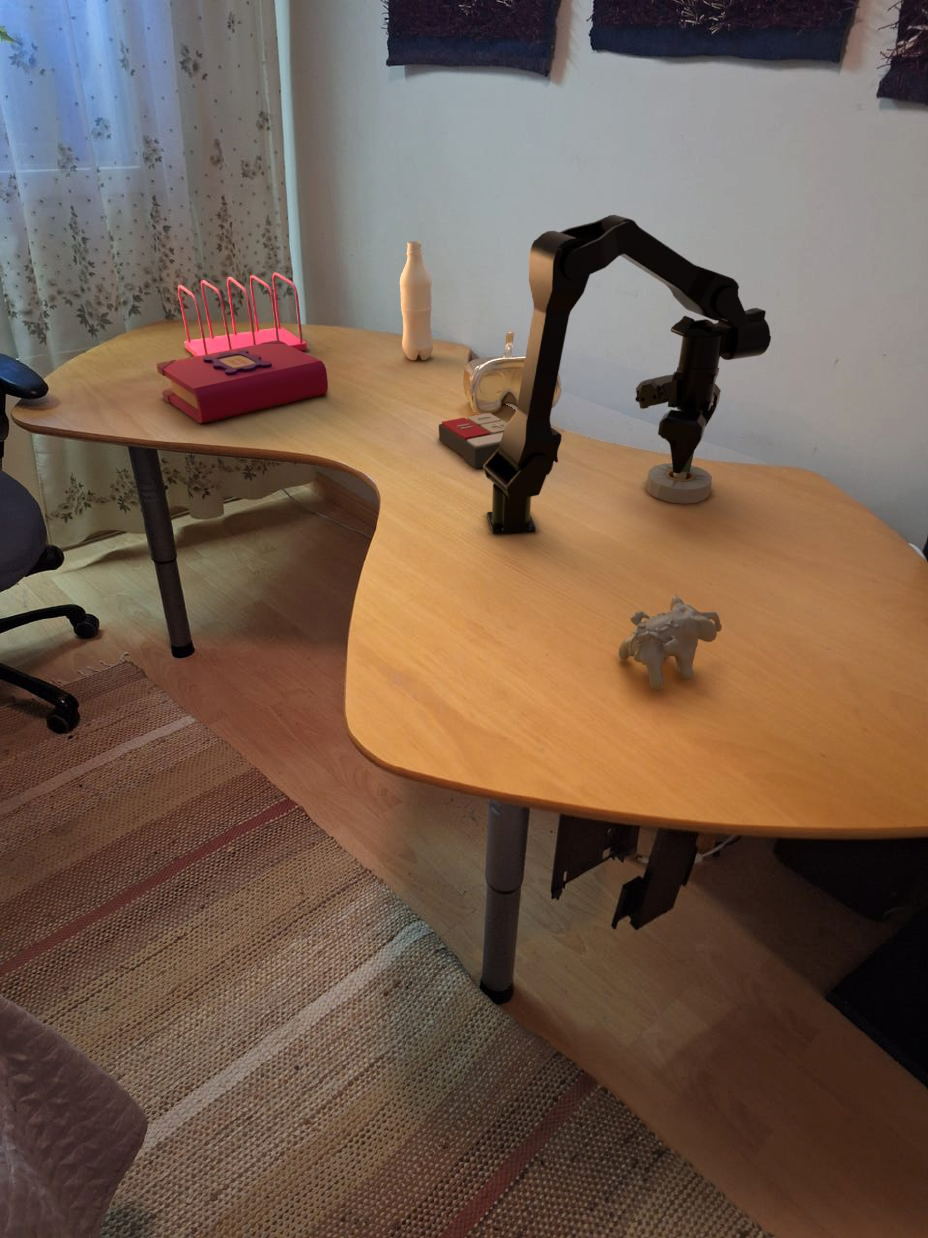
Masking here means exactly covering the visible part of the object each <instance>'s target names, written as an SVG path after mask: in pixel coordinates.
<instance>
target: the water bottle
mask: <svg viewBox="0 0 928 1238" xmlns="http://www.w3.org/2000/svg"><path fill="white" fill-rule="evenodd" d="M406 244H407V250H406V255H407V260H406V263H405V266H404V268H403V270H402V272H401V275H400V278H399V288H400V289H399V290H400V310H401V314H402V324H403V330H402V331H403V332H402V340H401V343H402V344H401V345H402V352H403V354H404V356H405V358H408V360H410V361H417V358H418V356H419V357H420V359H421V361H427V360H428V359H429V358H430V356H431V355H432V353H433V349H434V339H433V334H432V325H431V321H432V320H431V319H432V318H431V317H432V309H433V305H432V278H431V275H430V273H429V271H428V269H427V267H426V264H425V263H424V260H423V250H422V242H421V241H415V240H414V241H413V240H411V241H407V243H406Z"/></svg>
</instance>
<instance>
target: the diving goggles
mask: <svg viewBox="0 0 928 1238" xmlns="http://www.w3.org/2000/svg"><path fill="white" fill-rule="evenodd" d="M514 336H515V332H514V331H509V332H507V333H506V335H505V344H504V345H505V346H504V353H503V356H493V357H492V356H491V357H480V358H475V359H472V360H470V361H469V362H468V363H467V364H466V365H465V368H464V371H463V391H464V395H465V397H466V399H467V400H468V401H469V404H470V408H471V411H472V412H473V413H474V414H475V415H481V414H486V413H490V414H492V415H493V414H494V413H496V412H498V411H500V409H501V407H502V406H503V405H505V404H509V405H513V406H514V407H516V408H517V405H518V399H519V393H520V387H521V381H522V375H523V369H524V363H525V357H526V355H514V356H513V349H514V348H513V347H514ZM561 395H562V380H561V376H560V373H558V378H557V383H556V388H555V394H554V399H553V404H552V409H553V408H555V407H556V406H557V404H558V403H559V401H560V398H561Z"/></svg>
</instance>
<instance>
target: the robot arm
mask: <svg viewBox="0 0 928 1238" xmlns="http://www.w3.org/2000/svg"><path fill="white" fill-rule="evenodd" d="M528 254H529V255H528V256H529V257H528V283H529V287H530V288H529V289H530V292H531V297H532V302H533V309H532V316H531V322H530V329H529V334H528V340H527V346H526V352H525V356H526V357H525V363H524V369H523V375H522V381H521V387H520V393H519V399H518V405H517V407H516V410H515V413H514V414H513V415H512V417H511V418H510V419H509V421H508V422H507V423H508V424H507V425H506V427H505V429H504V432H503V436H502V439H501V442H500V445H499V448H498V449H497V450H496V451H495V453H494V454H493V455H492V456H491V457H490V458H489V460H488V461H487V462H486V463H485V464H484V465H483V467H482V470H483V472H484V475H485V477H486V478H487V479H488V480H489V481H491V482H492V483H493V484H492V501H491V505H492V507H491V511H487V512H486V517H487V521H488V524H489V527H490V530H491V533H492V535H506V534H522V533H523V534H524V533H535V532H536V531H537V527H536V524H535V522H534V520H533V517H532V515H531V509H532V497H536V496H539V495H540V493H541V491H542V488H543V487H544V483H545V481H546V478H547V476H548V475H550V473H551V472H552V470H553V468H554V467H553V466H554V463H556V464H557V463H558V462H559V458H558V455H559V454H558V451H559V449H560V445H561V443H562V433H560V432H559V431H557V430H556V429H555V428H554V427H552V423H551V414H552V410H553V408H552V404H553V399H554V394H555V388H556V383H557V378H558V373H559V372H560V368H561V367H560V366H561V362H562V356H563V351H564V346H565V340H566V335H567V330H568V325H569V320H570V315H571V312H572V310H573V309H574V308H575V306H576V305H577V303H578V302H579V301H580V299H581V297H583V295H584V293H585V290H586V287H587V285H588V281H589V279H590V275H592V274H595V273H597V272H599V271H601V270H604V269H605V268H607V267H608V266H609V265H610V264H611V263H613V262H614V261H615V260H616V259H617V258H618V257H622V258H623V259H625V260H627V261H628V262H629V263H631V264H633V265H634V266H636V267H637V268H639V269H640V270H642V271H643V272H645V273H646V274H648V275H650V276H651V277H652V278H654V279H656V280H658V281H659V282H661V283H662V284H664V285H665V286H666V287H667V288H668V289H669V290H670V292H671V294H672V296H673V298H675V300H677V302H678V303H679V304H680V305H681V306H682V307H683V308H684V309H685V310H687V311H689V312H691V313H695V314H698V315H700V316H702V317H705V318H704V319H698V320H695V319H694V318H692V317H689V316H687V315H683V316H682V318H681V319H680V320H678V321H677V322H676V323H674V324H673V325H672V326H671V328H670V332H671V333H673V334H675V335H677V336H680V337H682V340H681V346H680V352H679V360H678V365H677V368H676V371H674V372H673V373H672V374H667V375H661V376H657V377H653V378H648V379H645V380H642V381H640V382H639V383H638V385H637V387H636V388H635V393H636V396H635V399H634V400H635V402H637V403H638V404H639V409H641V410H644V409H649V407H653V406H658V405H662V404H666V403H667V408H673V409H670V410H668V411H667V412H666V413H664V414H663V416H662V418H661V419H660V420H659V424H658V430H657V435H658V436H660V438H662V439H663V440H665V441H666V442H668V444H669V449H670V456H671V463H672V466H673V472H674V473H678V474H680V473H681V471H682V470H683V468H684V467H685V465H686V463H687V462H688V460H689V458H690V457H691V455H692V454H693V452H694V453H695V450H696V449H697V448H698V446H699V445H700V443H701V441H702V438H703V437H704V433H705V429H706V427H707V425H708V424H709V421H710V420H711V418H712V417H713V415H714V414H715V411H716V410H717V406H718V404H719V402H720V397H721V391H722V390H721V388H720V387H719V386H718V385H717V384H716V381H717V378H718V376H719V372H720V367H719V365H720V358H721V359H723V360H725V361H733V360H739V359H745V358H752V357H758V356H762V355H763V354H765V353H766V352H767V350H768V349H769V346H770V344H771V340H772V336H771V330H770V326H769V323H768V322H767V320H766V314H767V312H766V310H764V309H762V308H759V307H753V308H749V309H746V310H745V308H744V306H743V303H742V301H741V299H740V297H739V290H740V285H739V283H738V281H736V279H734V278H732V277H730V276H727V275H724V274H722V273H719V272H717V271H714V270H711V269H708V268H704V267H702V266H700V265H696V264H694V263H692V262H691V261H690V260H689V259H687V258H685V257H683V256H682V255H681V254H679V253H678V252H676V251H675V250H673V248H670V246H668V245H666V244H665V243H663V242H662V241H660V240H659V239H657V238H656V237H655V236H653V235H651V234H650V233H649V232H648V231H646V230H644V229H643V228H641V227H640V226H639V225H638V224H637V222H636V221H635V220H634V219H631V218H628V217H625V216H621V215H617V214H609V215H608V216H605V217H603V218H601V219H598V220H595V221H593V222H592V221H591V222H589V223H584V224H581V225H577V226H572V227H568V228H565V229H564V230H562V231H557V230H548V231H545V232H544V233H541V234H540V235H539V236H538V237H537V238H536V239H535V240H533V242H532V244H531V246H530V250H529V253H528ZM706 318H707V319H706ZM712 320H713V321H715V322H716V321H717V322H716V323H714V322H713V321H712ZM559 374H560V373H559ZM676 409H677V410H676Z"/></svg>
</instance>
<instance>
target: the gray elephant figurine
mask: <svg viewBox="0 0 928 1238" xmlns="http://www.w3.org/2000/svg"><path fill="white" fill-rule="evenodd" d="M642 619H646V620H644V621H642ZM630 622H631V623H632V624H633V625H634V626H636V627H635V631H633V632H632V633H630V634H629V635H628V636H627V637H626V638H625V639H624V640H623V641H622V642H621V644H620V645H619V647H618V657H619V658H620V660H622V661H626V660H628V659H629V658H630V657H633V660H634V661H635V662H636V663H641V664H642V665H643V666H645V667H646V670H647V673H648V677H649V687H650V688H651V689H652V690H654V691H660V690H661V689H663V688H664V685H665V679H664V676H663V663H664V660H669V659H670V657H674V659H675V663H676V666H677V670H678V676H679V677H680V678H681V680H686V681H687V680H690V679H692V678H693V676H694V668H693V664H694V660H695V655H696V650H697V647H698V643H699V640H700V641H702V642H706V643H711V642H713V641H715V640H716V639H717V636H718V633H720V632H721V631H722V629H723V628H722V627H723V626H722V623H721V619H720V617H719V614H718V613H717V612H716V611H707V612H705V611H703V612H702V611H699V610H698V609H696V608H695V607H693V606H692V605H691V604H687V603H686V604H685V602H684V600H683V599H682V598H680V597H679V596H678V595H677V594H676V593H675V594H674V595H673V596H672V598H671V601H670V611H667V612H661V613H656V614H655V615H654V616H649V615H648V614H647V613H645V612H644V611H642V610H640V611H635V612H634V613H633V614H632V615H631V616H630Z"/></svg>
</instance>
